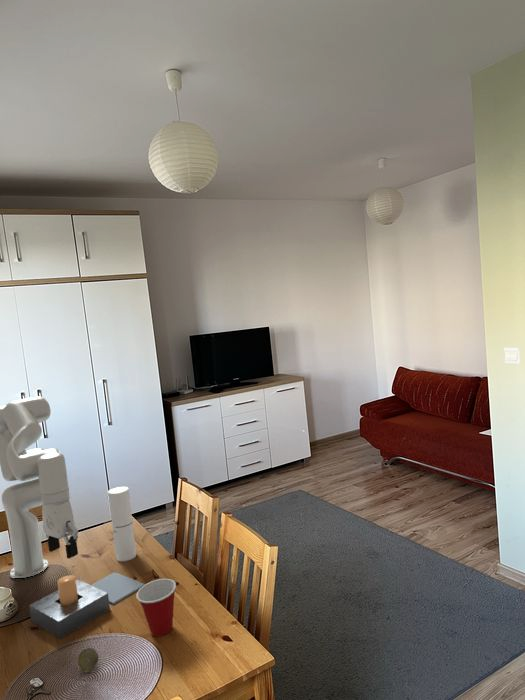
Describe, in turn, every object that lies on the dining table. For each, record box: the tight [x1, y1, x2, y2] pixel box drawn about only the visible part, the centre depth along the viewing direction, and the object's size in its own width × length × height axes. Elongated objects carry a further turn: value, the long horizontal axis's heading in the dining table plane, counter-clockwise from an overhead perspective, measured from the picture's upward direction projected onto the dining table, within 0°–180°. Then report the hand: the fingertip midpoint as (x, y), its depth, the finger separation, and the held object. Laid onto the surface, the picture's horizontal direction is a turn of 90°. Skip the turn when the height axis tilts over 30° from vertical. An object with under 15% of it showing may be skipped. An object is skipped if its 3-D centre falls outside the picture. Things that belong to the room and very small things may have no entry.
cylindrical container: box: [107, 486, 137, 562], centre depth 186 cm, size 7×7×25 cm
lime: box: [77, 647, 99, 673], centre depth 127 cm, size 4×5×5 cm
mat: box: [90, 571, 145, 605], centre depth 165 cm, size 16×12×1 cm
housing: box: [29, 579, 111, 640], centre depth 152 cm, size 16×16×5 cm
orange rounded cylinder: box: [57, 574, 78, 607], centre depth 152 cm, size 5×5×11 cm
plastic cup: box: [136, 578, 177, 637], centre depth 140 cm, size 11×11×12 cm
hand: (63, 553), depth 150 cm, fingers open, 9 cm apart
